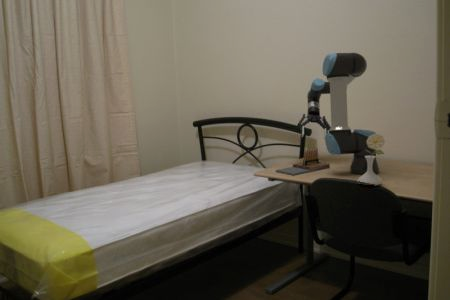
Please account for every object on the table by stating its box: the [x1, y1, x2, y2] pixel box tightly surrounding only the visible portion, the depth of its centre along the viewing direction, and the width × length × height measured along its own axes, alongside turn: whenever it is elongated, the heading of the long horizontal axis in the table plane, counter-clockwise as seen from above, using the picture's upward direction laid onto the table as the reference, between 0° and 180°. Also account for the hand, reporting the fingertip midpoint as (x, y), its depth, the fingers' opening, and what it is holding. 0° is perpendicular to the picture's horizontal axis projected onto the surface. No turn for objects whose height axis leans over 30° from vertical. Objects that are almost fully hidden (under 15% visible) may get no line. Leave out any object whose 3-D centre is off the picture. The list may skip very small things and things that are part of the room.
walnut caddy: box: [292, 161, 331, 173], centre depth 247 cm, size 14×16×2 cm
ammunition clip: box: [302, 147, 320, 166], centre depth 246 cm, size 11×2×12 cm, turn 120°
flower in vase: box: [357, 133, 386, 186], centre depth 200 cm, size 13×11×25 cm
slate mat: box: [275, 166, 311, 176], centre depth 238 cm, size 14×13×1 cm
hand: (314, 136), depth 254 cm, fingers open, 13 cm apart
